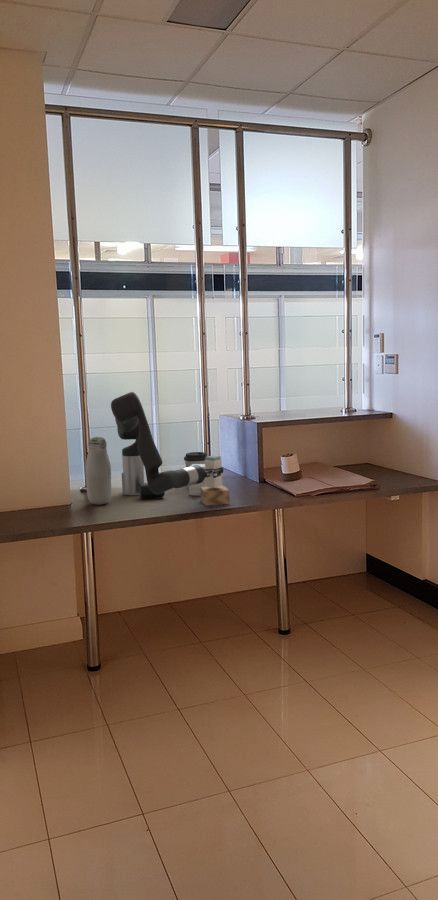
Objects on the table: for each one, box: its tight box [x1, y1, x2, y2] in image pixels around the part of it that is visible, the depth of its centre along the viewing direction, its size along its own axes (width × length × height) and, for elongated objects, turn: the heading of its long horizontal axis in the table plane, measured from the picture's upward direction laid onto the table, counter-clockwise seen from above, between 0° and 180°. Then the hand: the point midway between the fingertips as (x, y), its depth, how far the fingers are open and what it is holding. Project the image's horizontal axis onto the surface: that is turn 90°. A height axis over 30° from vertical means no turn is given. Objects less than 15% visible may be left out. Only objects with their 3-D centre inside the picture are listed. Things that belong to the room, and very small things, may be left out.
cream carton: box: [205, 455, 223, 488], centre depth 289 cm, size 5×5×12 cm
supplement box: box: [188, 464, 206, 496], centre depth 307 cm, size 7×7×13 cm
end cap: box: [139, 482, 166, 500], centre depth 301 cm, size 10×7×7 cm
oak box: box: [200, 485, 231, 506], centre depth 290 cm, size 10×10×6 cm
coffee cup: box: [183, 451, 208, 467], centre depth 324 cm, size 11×11×15 cm
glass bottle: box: [84, 436, 112, 506], centre depth 291 cm, size 10×10×28 cm
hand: (217, 469), depth 291 cm, fingers closed on cream carton, 4 cm apart
